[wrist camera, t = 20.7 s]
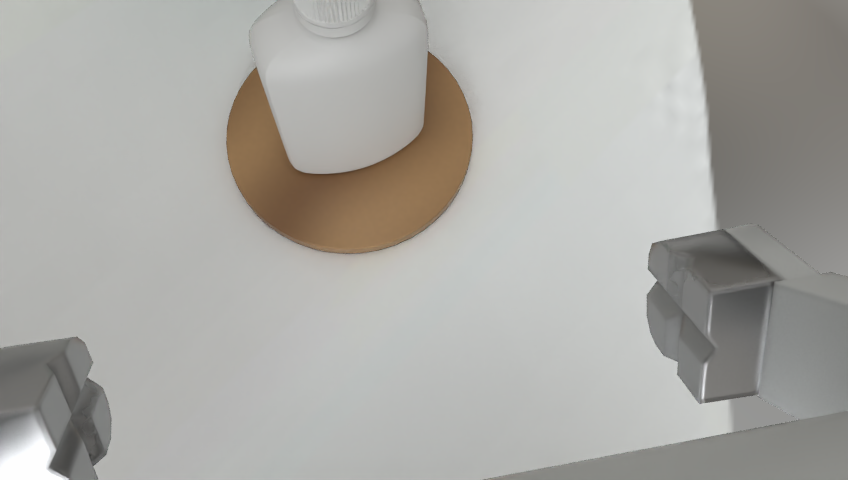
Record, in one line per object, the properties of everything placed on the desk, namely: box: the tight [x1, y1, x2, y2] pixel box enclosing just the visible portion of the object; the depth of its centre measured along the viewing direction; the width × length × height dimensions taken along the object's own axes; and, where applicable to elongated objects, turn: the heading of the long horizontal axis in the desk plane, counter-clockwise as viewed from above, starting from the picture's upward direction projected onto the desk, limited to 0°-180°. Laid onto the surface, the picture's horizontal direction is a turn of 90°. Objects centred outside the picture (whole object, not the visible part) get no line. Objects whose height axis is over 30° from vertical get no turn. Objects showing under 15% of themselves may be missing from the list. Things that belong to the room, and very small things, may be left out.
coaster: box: [226, 51, 473, 253], centre depth 30 cm, size 10×10×1 cm
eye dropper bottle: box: [249, 0, 428, 174], centre depth 24 cm, size 4×6×12 cm
